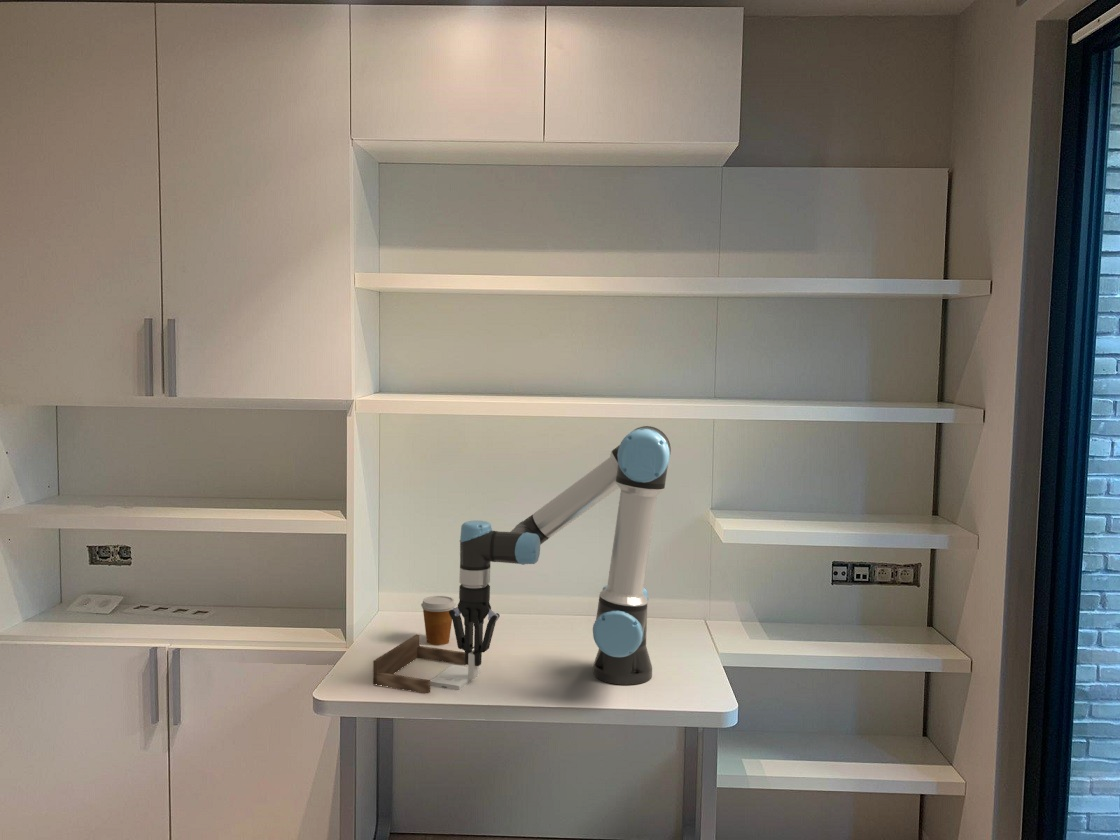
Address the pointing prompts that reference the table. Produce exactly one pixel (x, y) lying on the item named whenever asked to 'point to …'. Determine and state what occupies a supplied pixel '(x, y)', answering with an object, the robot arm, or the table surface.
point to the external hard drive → (452, 678)
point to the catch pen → (403, 656)
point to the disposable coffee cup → (437, 619)
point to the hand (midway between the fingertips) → (472, 677)
